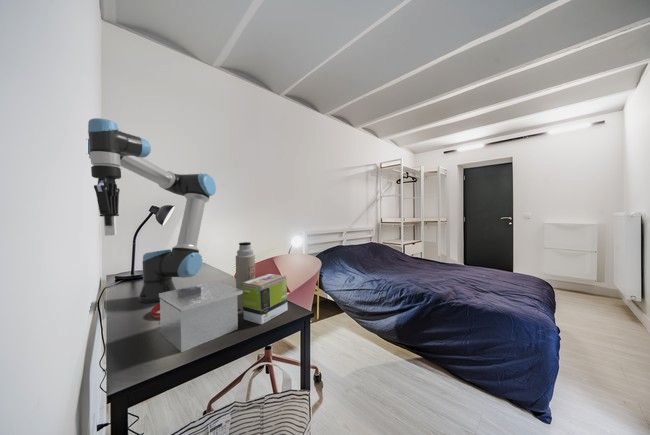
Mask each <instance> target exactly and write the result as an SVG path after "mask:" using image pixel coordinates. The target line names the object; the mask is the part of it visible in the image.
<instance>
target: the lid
mask: <svg viewBox="0 0 650 435" xmlns="http://www.w3.org/2000/svg"><path fill="white" fill-rule="evenodd" d="M240 294H243V290H240V289H237V288H236V287H235V286H231V285H228V284H225V283H222V282H220V281H218V280H217V281H216V280H213V281H209V282H208V281H207V282H205V283H199V284H196V285H191V286H187V287H183V288H176V290H173V291H168V292H164V293H159V297H160V298H161V299H163V300H164V301H166V302H168V303H169V304H171V305H173V306H174V307H176V308H177V309H179V310H181V311H184V310H188V309H191V308H195V307H198V306H202V305H205V304H209V303H212V302H215V301H219V300H222V299H226V298H229V297H233V296H236V295H240Z"/></svg>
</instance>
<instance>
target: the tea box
mask: <svg viewBox="0 0 650 435" xmlns="http://www.w3.org/2000/svg"><path fill="white" fill-rule="evenodd" d="M287 286H288V284H287V275H282V274H274V273H273V274H271V273H266V274H264V275H261V276H257V277H255V278H254V279H251V280H248V281H245V282H242V290H243V310H242V311H243V320H245V321H248V322H252V323H255V324H258V325H263V324H266V323H267V322H269V321H271V320H272V319H274V318H276V317H278V316H279V315H281V314H283V313H285V312H288V288H287Z"/></svg>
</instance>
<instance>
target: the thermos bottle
mask: <svg viewBox="0 0 650 435" xmlns="http://www.w3.org/2000/svg"><path fill="white" fill-rule="evenodd" d="M251 244H252V243H251V242H249V241H248V242H247V241H245V242H238V246H239V247H238V248H239V249H238V250H237V251H236V254H237V255H235V283H236V284H235V288H237V289H240V290H242V282H245V281H248V280H251V279H254V278H256V256H255V254H254V250H253V249H252V246H251ZM237 310H239V311H240V310H241V311H243V294H240V295H237Z"/></svg>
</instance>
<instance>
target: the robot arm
mask: <svg viewBox="0 0 650 435" xmlns="http://www.w3.org/2000/svg"><path fill="white" fill-rule="evenodd" d="M119 129H120V128H119V126H118V123H117V122H115V121H114V120H110V119H106V118H99V117H95V118H94V117H93V118H90V119H89V120H88V126H87V130H88V131H87V134H88V138H87V139H88V154H89V155H88V154H87V155H88V159H89V160H90V164H91V165H92V166H91V167H90V170H91V171H90V172H91V177H93V178H94V179H97V184H94V185H93V188H94V192H95V195H96V200H97V206H98V211H99V217H102V218H103V224H104V236H107V237H109V236H117V235H118V233H117V232H118V231H117V219H116V218H117V217H119V216H120V214H119V203H120V202H119V201H120V200H119V198H120V191H121V190H120V188H119V187H118V185H117V184H116V180H119V179H121V178H122V171H121V170H122V168H124V169H126V170H128V171H130V172H132V173H135V174H136V175H139V176H141V177H143V178H144V179H147V180H148V181H151V182H153V183H155V184H157V185H158V186H159V188H160V189H163V190H165V191H168V192H170V193H172V194H176V195H179V196H182V197H185V199H186V201H185V208H184V210H183V217H182V221H181V224H180V228H179V233H178V238H177V243H176V245H174V246H173V247H172V248H171V249H168V248H167V249H162V250H161V249H160V250H156V251H150V252H145V253H144V254H143V256H142V280H143V283H142V287H141V290H140V292H139V295H138V302H140V303H142V304H152V303H158V302H159V303H160V297H159V293H164V292H168V291H173V290H177V288H176V287H175V284H174V281H173V278H183V279H184V278H191V277H194V276H196V275H197V274H198V273H199V272H200V270H201V268H202V265H203V261H204V260H203V257H202V255H201V254H200V249H199V248H198V247H197V246H198V241H199V236H200V235H199V234H200V232H201V231H200V230H201V227H202V226H201V225H202V220H203V215H204V211H205V210H204V209H205V205H206V203H207V202H209V200H210V197H212V196H214V195H215V194H216V190H217V187H216V182H215V180H214V178H213V176H211V175H210V174H208V173H190V174H189V173H188V174H182V173H181V174H179V173H174V172H172V171H170V170H169V171H168V170H167V171H166V170H165V169H163V168H161V167H159V166H158V165H156V164H154V163H153V162H151V161H149V160H147V159H145V158H147V157H148V156H149V155H150V153H151V151H152V148H151V147H152V146H151V144H150V142H149V140H147V139H145V138H143V137H140V136H137V135H133V134H130V133H126V132H124V131H121V130H119ZM120 167H122V168H120Z"/></svg>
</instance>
